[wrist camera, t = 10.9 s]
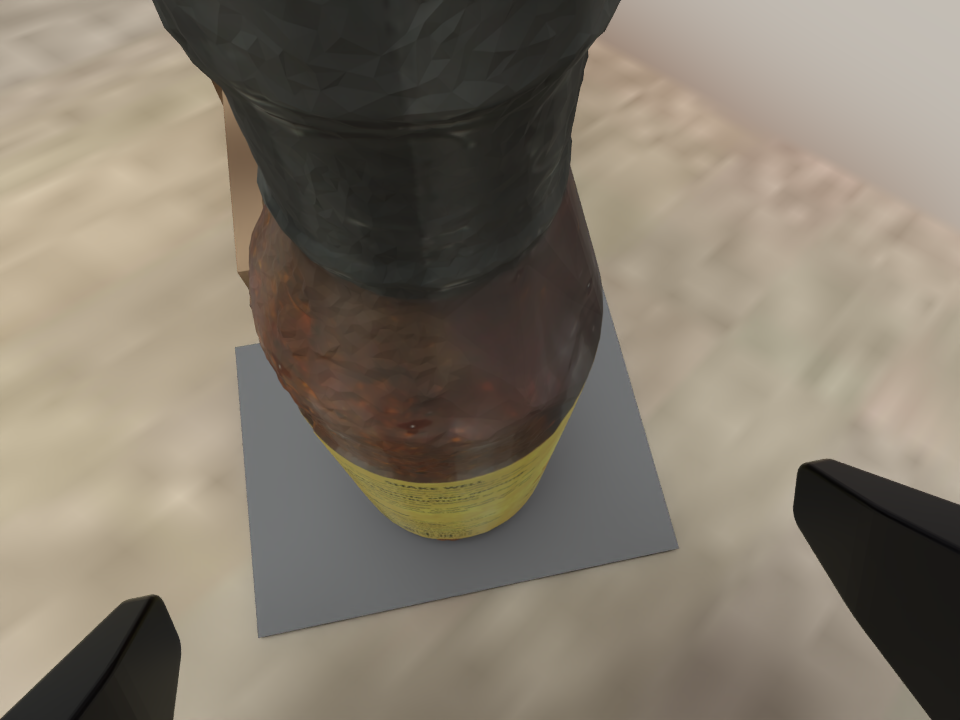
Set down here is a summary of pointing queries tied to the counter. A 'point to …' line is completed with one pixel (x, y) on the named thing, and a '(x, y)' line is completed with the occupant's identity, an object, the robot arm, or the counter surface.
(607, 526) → the charcoal mat
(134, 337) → the counter surface
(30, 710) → the robot arm
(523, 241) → the sauce bottle
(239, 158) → the bottle rack
